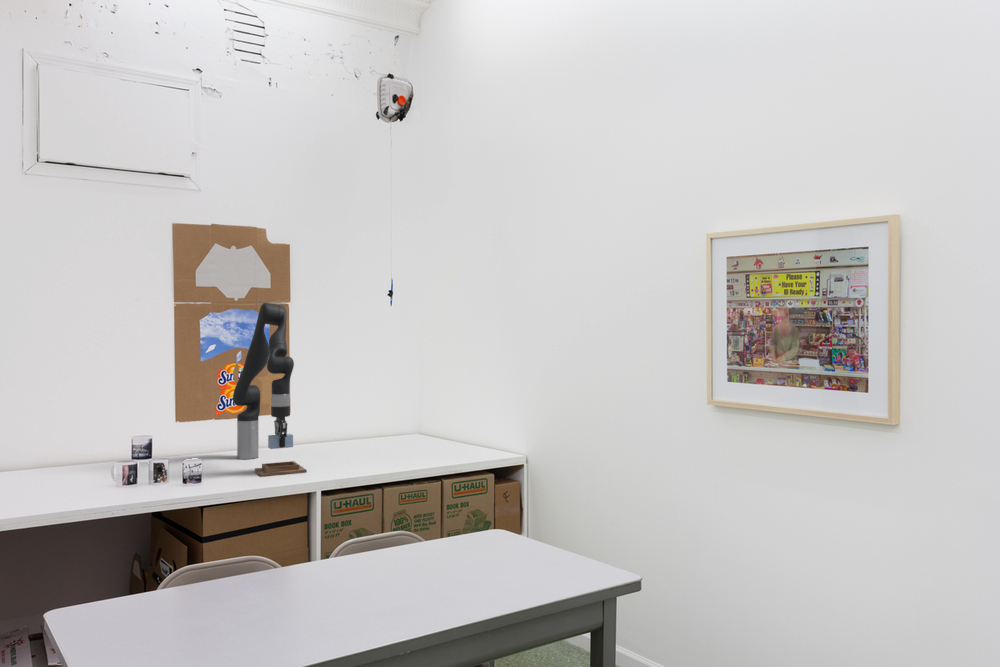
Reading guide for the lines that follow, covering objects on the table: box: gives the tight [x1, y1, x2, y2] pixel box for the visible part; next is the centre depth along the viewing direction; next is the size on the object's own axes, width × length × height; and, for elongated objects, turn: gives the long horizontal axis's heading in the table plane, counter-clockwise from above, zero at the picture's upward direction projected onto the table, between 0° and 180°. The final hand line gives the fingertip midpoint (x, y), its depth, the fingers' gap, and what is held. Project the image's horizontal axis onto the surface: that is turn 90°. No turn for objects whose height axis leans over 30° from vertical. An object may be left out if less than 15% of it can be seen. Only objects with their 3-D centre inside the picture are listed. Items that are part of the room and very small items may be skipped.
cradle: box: [254, 460, 307, 478], centre depth 290 cm, size 14×18×3 cm
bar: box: [267, 433, 294, 450], centre depth 290 cm, size 9×4×5 cm, turn 120°
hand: (280, 446), depth 290 cm, fingers closed on bar, 4 cm apart
